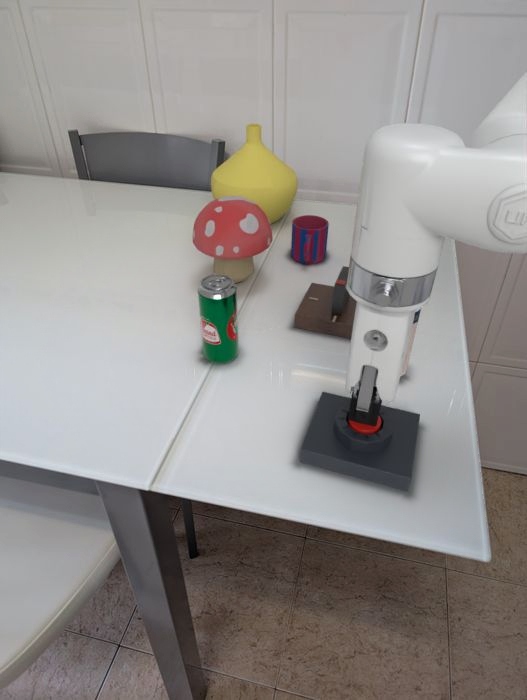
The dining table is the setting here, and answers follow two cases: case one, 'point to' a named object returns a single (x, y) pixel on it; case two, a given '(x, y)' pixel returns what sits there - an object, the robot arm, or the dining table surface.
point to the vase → (256, 177)
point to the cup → (309, 239)
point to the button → (365, 427)
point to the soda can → (218, 318)
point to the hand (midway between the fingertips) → (363, 418)
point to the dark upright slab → (340, 292)
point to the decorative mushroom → (232, 235)
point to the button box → (362, 443)
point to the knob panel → (324, 312)
